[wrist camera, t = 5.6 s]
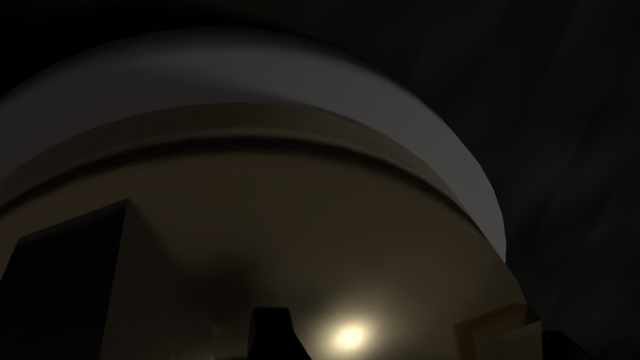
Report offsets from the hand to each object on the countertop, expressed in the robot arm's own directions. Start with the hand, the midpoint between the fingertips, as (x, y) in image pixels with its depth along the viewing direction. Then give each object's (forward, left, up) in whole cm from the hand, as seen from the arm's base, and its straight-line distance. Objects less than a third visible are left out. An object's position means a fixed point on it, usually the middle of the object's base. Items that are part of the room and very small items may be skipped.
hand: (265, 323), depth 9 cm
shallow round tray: (-4, +5, -5) cm, 8 cm away
